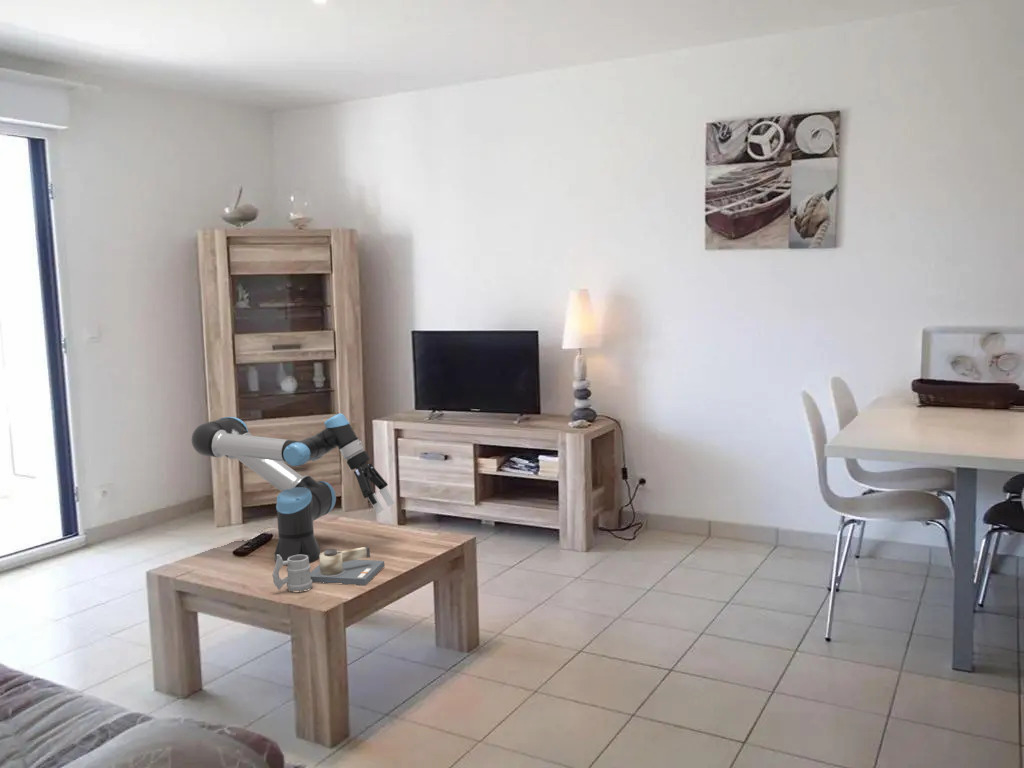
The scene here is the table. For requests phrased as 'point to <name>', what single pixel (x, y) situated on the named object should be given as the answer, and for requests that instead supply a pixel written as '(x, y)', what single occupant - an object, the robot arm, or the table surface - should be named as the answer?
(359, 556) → the lever
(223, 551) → the table surface
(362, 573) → the grey base plate
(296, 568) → the mug
